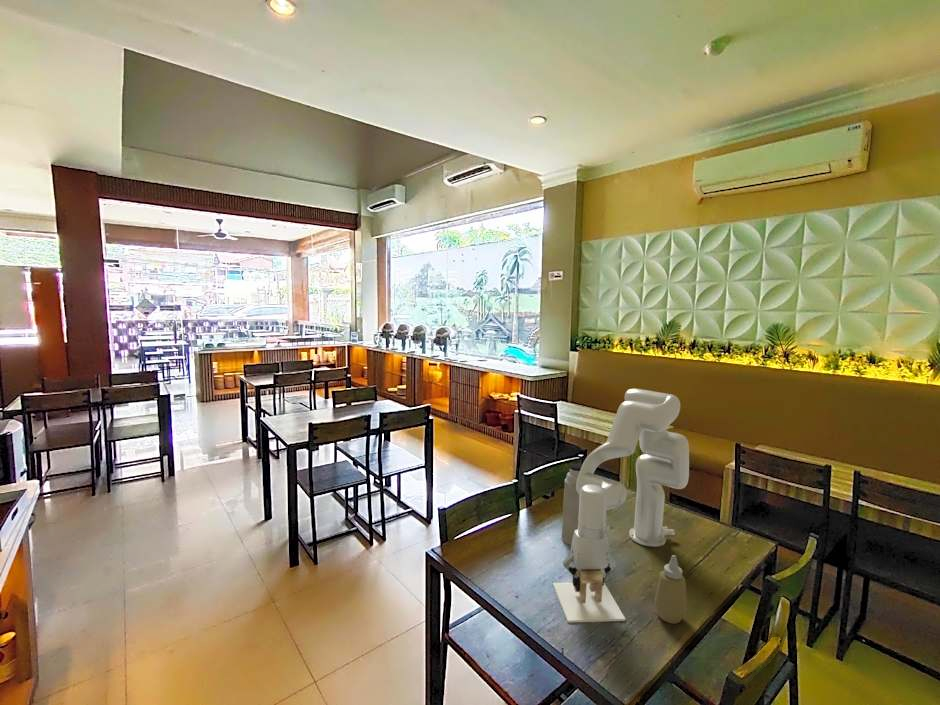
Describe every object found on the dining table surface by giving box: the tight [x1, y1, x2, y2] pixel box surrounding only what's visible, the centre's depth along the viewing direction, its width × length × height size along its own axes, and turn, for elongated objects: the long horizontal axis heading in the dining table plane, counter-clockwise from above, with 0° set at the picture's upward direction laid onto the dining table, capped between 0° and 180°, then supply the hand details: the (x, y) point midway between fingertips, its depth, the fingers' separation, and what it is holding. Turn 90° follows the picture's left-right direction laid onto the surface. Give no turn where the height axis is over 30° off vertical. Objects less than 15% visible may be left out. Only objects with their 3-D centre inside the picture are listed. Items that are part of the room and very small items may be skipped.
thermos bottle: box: [561, 463, 583, 546], centre depth 160 cm, size 8×8×28 cm
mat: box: [552, 581, 626, 624], centre depth 129 cm, size 16×16×1 cm
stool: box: [574, 569, 603, 603], centre depth 128 cm, size 6×6×8 cm
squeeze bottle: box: [653, 554, 687, 625], centre depth 123 cm, size 8×8×18 cm
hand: (587, 587), depth 129 cm, fingers closed on stool, 6 cm apart
